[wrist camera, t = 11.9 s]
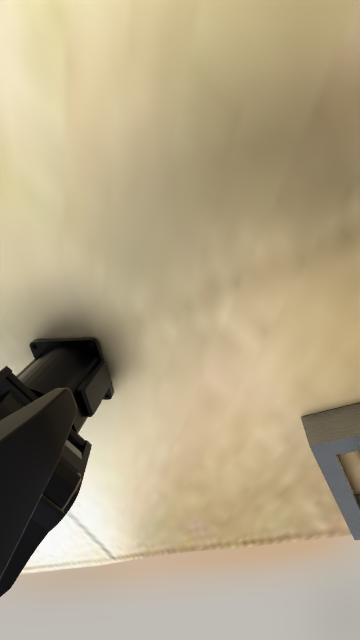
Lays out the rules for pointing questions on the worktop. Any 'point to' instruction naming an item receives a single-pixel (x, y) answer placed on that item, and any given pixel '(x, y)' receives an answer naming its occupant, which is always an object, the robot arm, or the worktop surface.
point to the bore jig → (326, 443)
